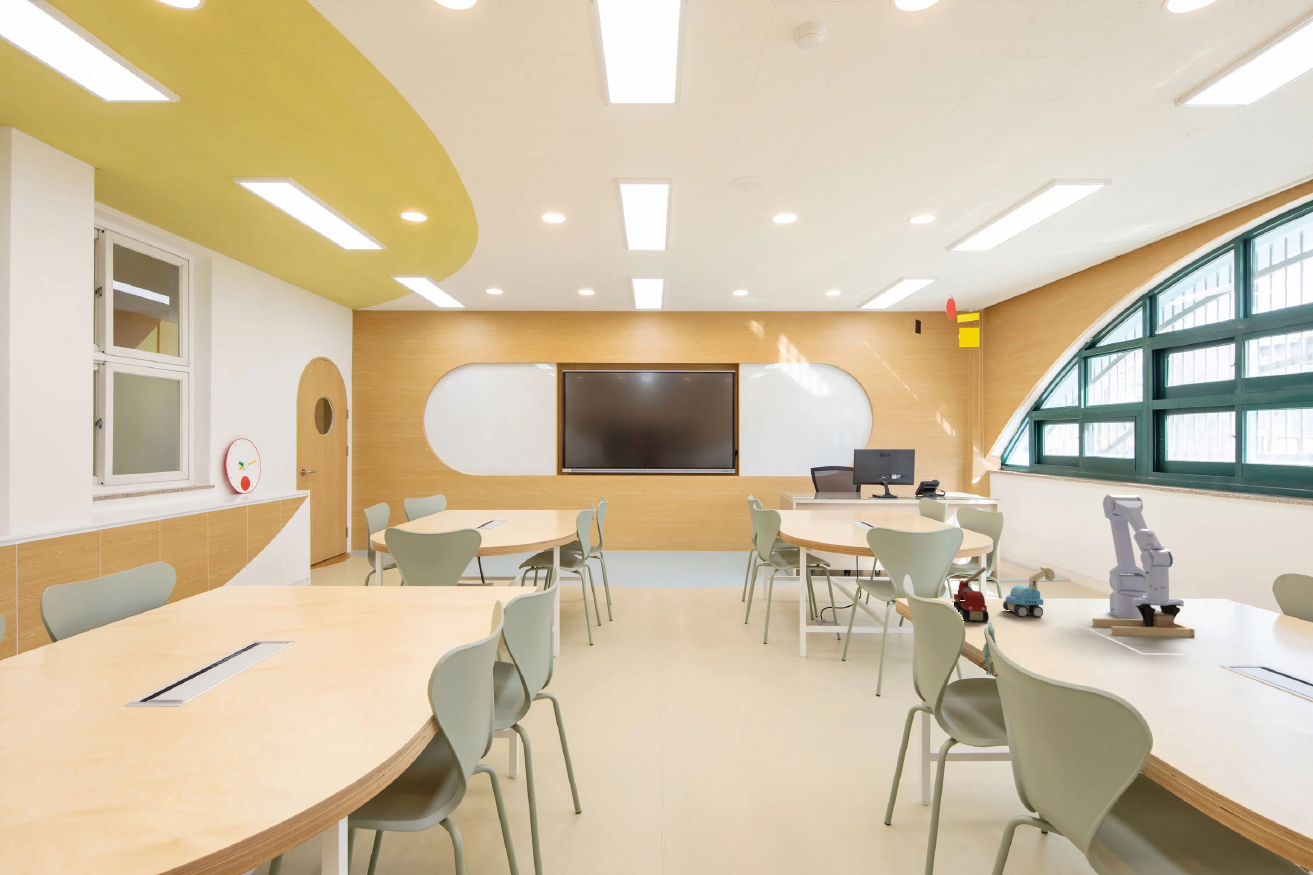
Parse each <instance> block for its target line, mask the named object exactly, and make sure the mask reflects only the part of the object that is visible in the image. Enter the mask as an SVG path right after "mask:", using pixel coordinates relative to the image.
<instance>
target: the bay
mask: <svg viewBox="0 0 1313 875" xmlns="http://www.w3.org/2000/svg"><path fill="white" fill-rule="evenodd" d="M1092 626H1093V627H1101V628H1102V627H1103V628H1104V627H1105V628H1111V635H1113V636H1133V637H1134V636H1137V637H1139V636H1141V637H1180V638H1181V637H1182V638H1195V629H1194V628H1192V627H1189V626H1187V625H1184V624H1181V623H1178V622H1175V621H1174V628H1167V627H1143V619H1123V618H1102V617H1101V618H1100V617H1099V618H1097V617H1092Z"/></svg>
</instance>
